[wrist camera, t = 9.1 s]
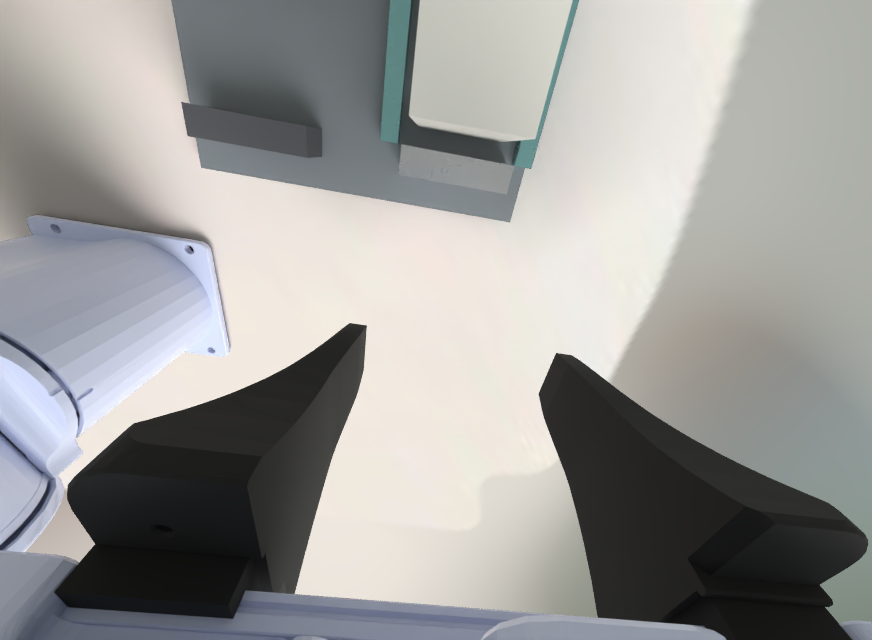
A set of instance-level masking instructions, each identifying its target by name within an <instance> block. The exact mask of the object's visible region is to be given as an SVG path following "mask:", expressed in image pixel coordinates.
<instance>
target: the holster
mask: <svg viewBox="0 0 872 640" xmlns="http://www.w3.org/2000/svg"><path fill="white" fill-rule="evenodd" d="M181 103H182V108H183V113H184V119H185V124H186V129H187V135H188V136H191V137H196V138H202V139H207V140H212V141H218V142H223V143H229V144H234V145H240V146H245V147H251V148H256V149H261V150H267V151H272V152H278V153H283V154H289V155H294V156H299V157H305V158H313V157H322V129H321V128H316V127H311V126H305V125H300V124H295V123H290V122H285V121H279V120H274V119H269V118H264V117H259V116H253V115H248V114H243V113H238V112H232V111H227V110H222V109H217V108H211V107H206V106H200V105H194V104H189V103H183V102H181Z"/></svg>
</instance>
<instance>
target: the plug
mask: <svg viewBox="0 0 872 640" xmlns="http://www.w3.org/2000/svg"><path fill="white" fill-rule="evenodd" d="M572 1H573V0H420V5H419V15H418V25H417V36H416V46H415V57H414V67H413V77H412V88H411V98H410V108H409V116H410V117H411V119H412V120H413V121H414V122H415V123H416V124H417V125H418V126H419V127H422V128H427V129H433V130H438V131H444V132H449V133H455V134H460V135H466V136H471V137H476V138H482V139H487V140H493V141H498V142H508V141H519V140H531V139H535V138H536V135H537V131H538V127H539V124H540V120H541V116H542V112H543V109H544V105H545V101H546V98H547V94H548V90H549V87H550V83H551V79H552V75H553V72H554V68H555V64H556V61H557V57H558V53H559V49H560V46H561V42H562V38H563V35H564V31H565V27H566V24H567V20H568V16H569V12H570V9H571V5H572Z"/></svg>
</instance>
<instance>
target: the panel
mask: <svg viewBox="0 0 872 640" xmlns="http://www.w3.org/2000/svg"><path fill="white" fill-rule="evenodd" d="M419 5H420V0H413V9H412V20H411V30H410V40H409V50H408V61H407V71H406V81H405V92H404V102H403V112H402V123H401V133H400V143H393V142H388V141H383V140H380V138H381V123H382V109H383V95H384V81H385V67H386V53H387V38H388V24H389V10H390V0H172V6H173V11H174V17H175V23H176V28H177V34H178V39H179V45H180V51H181V56H182V62H183V68H184V73H185V79H186V84H187V90H188V96H189V101H190V104H194V105H200V106H206V107H211V108H217V109H222V110H227V111H232V112H238V113H243V114H248V115H253V116H259V117H264V118H269V119H274V120H279V121H285V122H290V123H295V124H300V125H305V126H311V127H316V128H321V129H322V157H313V158H305V157H299V156H294V155H289V154H283V153H278V152H272V151H267V150H261V149H256V148H251V147H245V146H240V145H234V144H229V143H223V142H218V141H212V140H207V139H202V138H196V141H197V146H198V152H199V158H200V163H201V168H206V169H212V170H217V171H223V172H229V173H234V174H240V175H246V176H251V177H257V178H263V179H268V180H274V181H280V182H285V183H291V184H297V185H302V186H308V187H314V188H319V189H325V190H331V191H336V192H342V193H348V194H353V195H359V196H364V197H370V198H376V199H381V200H387V201H393V202H398V203H404V204H410V205H415V206H421V207H427V208H432V209H438V210H444V211H449V212H455V213H461V214H466V215H472V216H478V217H483V218H489V219H495V220H500V221H506V222H510V220H511V216H512V212H513V209H514V205H515V202H516V198H517V194H518V191H519V187H520V183H521V180H522V176H523V173H524V169H525V168H524V167H519V166H514V165H513V166H514V168H513V172H512V176H511V180H510V184H509V188H508V192H507V195H506V194H501V193H495V192H490V191H485V190H479V189H474V188H468V187H463V186H457V185H452V184H446V183H441V182H436V181H430V180H425V179H419V178H414V177H408V176H403V175H398V174H399V164H400V154H401V144H404V145H410V146H415V147H420V148H426V149H431V150H436V151H441V152H446V153H452V154H457V155H462V156H467V157H473V158H478V159H483V160H488V161H493V162H499V163H504V164H508V165H511V164H512V160H513V156H514V153H515V149H516V145H517V141H508V142H498V141H493V140H487V139H482V138H476V137H471V136H466V135H460V134H455V133H449V132H444V131H438V130H433V129H427V128H422V127H419V126H418V125H417V124H416V123H415V122H414V121H413V120H412V119H411V117H410V116H409V108H410V98H411V88H412V77H413V67H414V57H415V46H416V36H417V25H418V15H419Z"/></svg>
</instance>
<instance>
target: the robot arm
mask: <svg viewBox="0 0 872 640" xmlns="http://www.w3.org/2000/svg"><path fill="white" fill-rule="evenodd" d="M26 221H27V225H28V227H29V229H30V231H31V234H32V235H29V236H25V237H20V238H15V239H11V240H6V241H2V242H0V640H872V622H865V621H847V622H842V623H838V622H837V621H836V620H835V619H834V617H833V616H832V615H831V614H830V613H829V611H828V610H827V609H826V608H825V607H830V606H832V605H833V601H832V599H831V598H830V597H829V596H828V594H827V593H826V592H825V591H824V590H823V589H822V588H821V587H820V584H821V583H823V582H825V581H826V580H828V579H829V578H831V577H833V576H835V575H836V574H838V573H840V572H841V571H843V570H845V569H846V568H848V567H850V566H851V565H852V564H854V563H855V562H856V561H858V560H859V559H860V558H861V557H862V556H863V555H864V554H865V552H866V550H867V546H868V540H867V538H866V535H865V534H864V533H863V532H862V531H861V530H860V529H859V528H858V527H857V526H855V525H854V524H853V523H852V522H851V521H850V520H849V519H848V518H847V517H846V516H844V515H843V514H842V513H841V512H840V511H839V510H837V509H836V508H835V507H833V506H832V505H830V504H829V503H827V502H825V501H822V500H820V499H818V498H815V497H813V496H810V495H808V494H806V493H803V492H801V491H799V490H796V489H794V488H791V487H789V486H787V485H784V484H782V483H780V482H778V481H775V480H773V479H771V478H768V477H766V476H764V475H762V474H760V473H758V472H756V471H754V470H751V469H749V468H747V467H745V466H743V465H741V464H739V463H737V462H735V461H733V460H731V459H729V458H727V457H725V456H723V455H721V454H719V453H717V452H715V451H714V450H712V449H710V448H708V447H706V446H704V445H702V444H701V443H699V442H697V441H695V440H693V439H691V438H690V437H688V436H686V435H685V434H683V433H681V432H680V431H678V430H676V429H675V428H673V427H672V426H670V425H668V424H667V423H665V422H663V421H662V420H660V419H659V418H657V417H655V416H654V415H653V414H651V413H649V412H648V411H647V410H645V409H644V408H642V407H641V406H639V405H638V404H637V403H635V402H634V401H633V400H631V399H630V398H628V397H627V396H626V395H624V394H623V393H621V392H620V391H619V390H617V389H616V388H615V387H614V386H612V385H611V384H610V383H609V382H607V381H606V380H605V379H603V378H602V377H601V376H599V375H598V374H597V373H596V372H594V371H593V370H592V369H590V368H589V367H588V366H586V365H585V364H584V363H582V362H581V361H580V360H578V359H577V358H575V357H573V356H572V355H566V354H559V353H556V355H555V357H554V359H553V362H552V364H551V366H550V369H549V371H548V373H547V376H546V378H545V380H544V383H543V385H542V387H541V390H540V392H539V397H540V402H541V407H542V411H543V415H544V419H545V422H546V424H547V427H548V430H549V432H550V435H551V438H552V440H553V443H554V446H555V448H556V451H557V453H558V456H559V458H560V461H561V464H562V466H563V469H564V471H565V474H566V477H567V480H568V483H569V486H570V490H571V493H572V497H573V501H574V505H575V508H576V512H577V516H578V520H579V524H580V528H581V533H582V537H583V541H584V546H585V550H586V556H587V561H588V565H589V570H590V575H591V580H592V586H593V592H594V597H595V603H596V609H597V615H598V618H595V617H582V616H569V615H556V614H541V613H530V612H517V611H503V610H491V609H479V608H466V607H453V606H439V605H427V604H414V603H401V602H388V601H375V600H362V599H350V598H337V597H323V596H311V595H298V594H294V593H295V590H296V586H297V582H298V578H299V574H300V570H301V566H302V563H303V559H304V555H305V551H306V547H307V544H308V540H309V536H310V533H311V529H312V525H313V521H314V518H315V514H316V511H317V507H318V504H319V500H320V497H321V493H322V490H323V486H324V483H325V479H326V476H327V473H328V469H329V466H330V462H331V459H332V456H333V453H334V451H335V448H336V445H337V443H338V440H339V438H340V435H341V433H342V430H343V428H344V425H345V423H346V420H347V418H348V416H349V413H350V411H351V408H352V406H353V403H354V401H355V398H356V396H357V393H358V389H359V386H360V382H361V378H362V374H363V370H364V356H365V342H366V328H367V326H366V325H359V324H352V323H349V324H348V325H347V326H345V327H344V328H343V329H341V330H340V331H339V332H338V333H336V334H335V335H334V336H332V337H331V338H330V339H329V340H327V341H326V342H325V343H323V344H322V345H320V346H319V347H318V348H316V349H315V350H314V351H312V352H311V353H309V354H308V355H306V356H305V357H303V358H301V359H300V360H298V361H297V362H295V363H294V364H292V365H290V366H288V367H287V368H285V369H283V370H281V371H279V372H277V373H275V374H274V375H272V376H270V377H268V378H266V379H263V380H261V381H259V382H257V383H254V384H252V385H250V386H247V387H245V388H243V389H241V390H238V391H236V392H233V393H231V394H228V395H226V396H223V397H220V398H217V399H215V400H212V401H209V402H206V403H203V404H200V405H197V406H194V407H191V408H188V409H185V410H181V411H178V412H174V413H170V414H167V415H163V416H160V417H156V418H153V419H149V420H146V421H142V422H138V423H134V424H133V425H131V426H130V427H129V428H128V429H127V430H126V431H124V432H123V433H122V434H121V435H120V436H119V437H118V438H117V439H116V440H114V441H113V442H112V443H111V444H110V445H109V446H108V447H107V448H106V449H104V450H103V451H102V452H101V453H100V454H99V455H98V456H97V457H96V458H95V459H93V460H92V461H91V462H90V463H89V464H88V465H87V466H86V467H85V468H84V469H82V470H81V471H80V472H79V473H78V474H77V475H76V476H75V477H74V478H73V479H72V481H71V482H70V483H69V484H68V491H67V500H68V502H69V504H70V506H71V509H72V511H73V512H74V514H75V515H76V517H77V518H78V519H79V521H80V522H81V524H82V525H83V527H84V528H85V529H86V531H87V532H88V534H89V535H90V537H91V538H92V540H93V541H94V542H95V545H94V546H93V548H92V549H91V550H90V551H89V552H88V553H87V555H86V556H85V557H84V558H83V559H82V560H81V562H80V563H79V562H77V561H76V560H73V559H71V558H68V557H65V556H59V555H50V554H39V553H27V552H25V551H26V550H27V549H28V548H29V547H30V546H31V545H32V543H33V542H34V541H35V540H36V538H37V537H38V536H39V535H40V534H41V533H42V532H43V530H44V529H45V528H46V526H47V525H48V524H49V522H50V521H51V520H52V518H53V517H54V515H55V513H56V511H57V509H58V508H59V506H60V503H61V501H62V498H63V494H64V486H63V483H62V480H61V478H60V477H59V476H58V475H59V474H60V473H61V472H62V471H64V470H65V469H66V468H67V467H68V466H69V465H71V464H72V463H73V462H74V461H75V460H76V459H77V458H79V457H80V456H81V455H82V454H83V451H82V450H81V448H80V447H79V446H78V444H77V441H76V438H77V437H79V436H80V435H81V434H82V433H84V432H85V431H86V430H87V429H89V428H90V427H91V426H92V425H94V424H95V423H96V422H97V421H99V420H100V419H101V418H102V417H104V416H105V415H106V414H107V413H108V412H110V411H111V410H112V409H113V408H115V407H116V406H117V405H118V404H120V403H121V402H122V401H123V400H125V399H126V398H127V397H128V396H130V395H131V394H132V393H133V392H135V391H136V390H137V389H138V388H140V387H141V386H142V385H143V384H144V383H146V382H147V381H148V380H149V379H151V378H152V377H153V376H154V375H156V374H157V373H158V372H159V371H161V370H162V369H163V368H164V367H166V366H167V365H168V364H169V363H171V362H172V361H173V360H174V359H176V358H177V357H178V356H179V355H180V354H182V353H183V352H188V353H195V354H203V355H210V356H218V357H224V356H226V355H227V354H228V353H229V352H230V348H229V343H228V338H227V332H226V327H225V321H224V316H223V311H222V305H221V300H220V294H219V289H218V284H217V278H216V273H215V267H214V262H213V257H212V251H211V248H210V247H209V245H208V244H206V243H205V242H203V241H198V240H192V239H186V238H179V237H173V236H167V235H161V234H154V233H148V232H142V231H136V230H129V229H123V228H117V227H111V226H104V225H98V224H92V223H85V222H79V221H73V220H67V219H60V218H54V217H48V216H42V215H34V216H29V217H28V218H27V220H26ZM58 226H59V227H60V228H59V227H58ZM189 246H191V247H192V248H193V249H194V252H193V251H192V250H190V248H189ZM211 347H212V348H214V349H215V350H214V349H212V348H211Z"/></svg>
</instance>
